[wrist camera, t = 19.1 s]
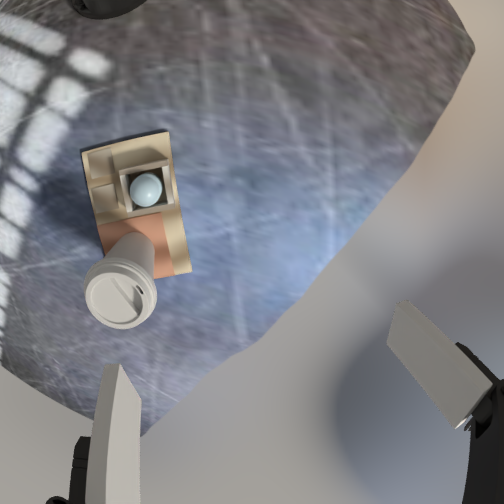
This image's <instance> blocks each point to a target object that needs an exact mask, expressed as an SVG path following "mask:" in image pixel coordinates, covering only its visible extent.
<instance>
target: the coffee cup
mask: <svg viewBox="0 0 504 504" xmlns="http://www.w3.org/2000/svg"><path fill="white" fill-rule="evenodd" d="M154 255H155V250H154V246H153V243H152V242H151V240H150V239H149V238H148V237H147V236H145V235H144V234H142V233H138V232H130V233H127V234H125V235H124V236H122V237H121V238H120V239H119V241H118V242H117V243H116V244H115V245H114V246H113V247H112V249H111V250H110V251H109V252H108V253H107V254H106V256H105V257H104V258H103V259H102V260H100V261H98V262H96V263H95V264H94V265H93V266H92V267H91V268H90V269H89V270H88V272H87V274H86V277H85V281H84V294H85V299H86V303H87V306H88V308H89V310H90V311H91V313H92V314H93V315H94V317H95V318H96V319H98V320H99V321H100V322H102V323H103V324H105V325H107V326H109V327H112V328H117V329H128V328H132V327H135V326H137V325H138V324H140V323H141V322H143V321H144V320H145V319H147V318H148V317H149V315H150V314H151V313H152V311H153V310H154V308H155V305H156V301H157V291H156V287H155V284H154V282H153V281H154Z"/></svg>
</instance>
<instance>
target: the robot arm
mask: <svg viewBox="0 0 504 504" xmlns="http://www.w3.org/2000/svg"><path fill="white" fill-rule="evenodd" d="M71 1H72V4H73V6H74V7H75V9H76V10H77V11H78V12H79V13H80V14H81V15H83V16H85V17H87V18H90V19H109V18H113V17H117V16H120V15H123V14H125V13H127V12H130V11H132V10H133V9H135V8H137V7H138V6H140V5H141V4H143V3H144V2H145V1H146V0H71ZM386 344H387V345H388V346H389V347H390V349H391V350H392V351H393V352H394V353H395V355H396V356H397V357H398V358H399V359H400V361H401V362H402V363H403V364H404V366H405V367H406V368H407V369H408V370H409V372H410V373H411V374H412V375H413V377H414V378H415V379H416V380H417V382H418V383H419V384H420V385H421V387H422V388H423V389H424V391H425V392H426V393H427V394H428V396H429V397H430V398H431V399H432V401H433V402H434V403H435V405H436V406H437V407H438V408H439V410H440V411H441V412H442V414H443V415H444V416H445V418H446V419H447V420H448V422H449V423H450V424H451V426H452V427H453V428H454V429H456V428H457V427H458V426H460V425H461V424H462V423H464V422H465V421H466V420H467V418H468V417H469V416H470V415H471V414H472V416H473V417H472V418H471V420H470V421H469V422H468V423H467V424H466V426H465V428H464V431H466V430H467V429H468V428H469V426H470V425H471V427H470V428H469V430H468V431H471V438H470V439H471V440H470V452H469V463H468V472H467V478H466V485H465V491H464V496H463V501H462V504H504V379H502V380H499V379H498V378H497V377H496V376H495V375H494V374H493V373H492V372H491V371H490V370H489V369H488V368H487V367H486V366H485V365H484V364H483V363H482V362H481V361H480V360H479V359H478V358H477V357H476V356H475V355H473V353H472V352H471V351H470V350H469V349H468V348H467V347H466V346H464V345H462V344H460V343H459V342H457V343H456V344H454V343H453V342H452V341H451V340H450V339H449V338H448V337H447V336H446V335H445V334H444V333H443V332H442V331H441V330H439V329H438V328H437V327H436V326H435V325H434V324H433V323H432V322H431V321H430V320H429V319H428V318H427V317H426V316H424V314H423V313H421V312H420V311H419V310H418V309H417V308H416V307H415V306H414V305H413V304H412V303H410V302H409V301H408V300H405V301H402V302H399V303H396V307H395V311H394V315H393V320H392V323H391V327H390V331H389V335H388V339H387V343H386ZM141 401H142V400H141V398H140V397H139V395H138V394H137V392H136V390H135V389H134V387H133V385H132V384H131V382H130V380H129V379H128V377H127V375H126V373H125V372H124V370H123V368H122V366H121V364H120V363H119V364H107V365H105V367H104V371H103V375H102V380H101V384H100V389H99V394H98V399H97V404H96V410H95V416H94V422H93V428H92V435H91V437H83V436H81V437H80V438H79V440H78V442H77V443H76V445H75V449H74V455H73V458H74V460H73V463H72V467H73V468H72V471H71V480H70V492H69V500H66V499H64V498H63V497H59V496H54V497H51V498H50V499H49V500H48V501H47V502H46V504H141V502H140V473H139V469H140V467H139V455H140V452H139V451H140V450H139V449H140V419H141Z"/></svg>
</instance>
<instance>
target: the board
mask: <svg viewBox="0 0 504 504" xmlns="http://www.w3.org/2000/svg"><path fill="white" fill-rule="evenodd" d="M82 158H83V164H84V169H85V174H86V180H87V184H88V189H89V194H90V198H91V203H92V207H93V211H94V215H95V219H96V223H97V228H98V232H99V236H100V239H101V243H102V246H103V249H104V253H105V256H106V254H107V253H108V252H109V251H110V250H111V249H112V247H113V246H114V245H115V244H116V243H117V242H118V241H119V239H120V238H121V237H122V236H124V235H125V234H127V233H130V232H138V233H142V234H144V235H145V236H147V237H148V238H149V239H150V240H151V242H152V243H153V246H154V250H155V255H154V279H156V278H162V277H168V276H174V275H176V274H182V273H188V272H192V267H191V262H190V257H189V252H188V247H187V242H186V237H185V232H184V226H183V221H182V215H181V210H180V204H179V198H178V192H177V186H176V180H175V173H174V167H173V160H172V153H171V146H170V138H169V132H164V133H159V134H154V135H149V136H144V137H140V138H135V139H131V140H127V141H122V142H118V143H115V144H111V145H107V146H103V147H100V148H96V149H92V150H89V151H86V152H82ZM145 172H152V173H155V174H157V175H158V176H159V177H160V178H161V180H162V183H163V190H162V193H161V195H160V197H159V199H158V201H157V202H156V203H154V204H153V205H151V206H147V207H143V206H140V205H138V204H136V203H135V202H134V201H133V200H132V198H131V195H130V187H131V184H132V182H133V181H134V180H135V179H136V178H137V177H138V176H139V175H141V174H143V173H145Z"/></svg>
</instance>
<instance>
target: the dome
mask: <svg viewBox="0 0 504 504" xmlns="http://www.w3.org/2000/svg"><path fill="white" fill-rule="evenodd" d="M162 190H163V183H162V180H161V178H160V177H159V176H158V175H157V174H155V173H152V172H145V173H143V174H141V175H139V176H138V177H137V178H136V179H135V180H134V181H133V182H132V184H131V187H130V195H131V198H132V200H133V201H134V202H135V203H136V204H138V205H140V206H143V207H147V206H151V205H153V204H154V203H156V202H157V201H158V199H159V197H160V195H161V193H162Z"/></svg>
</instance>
